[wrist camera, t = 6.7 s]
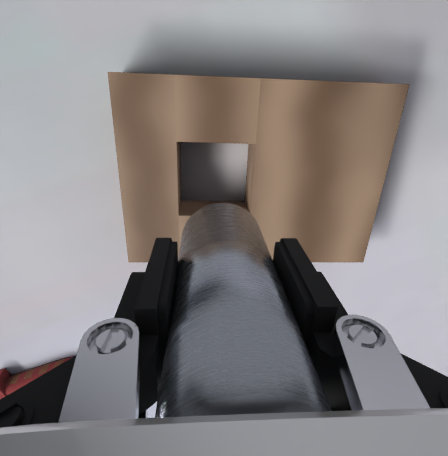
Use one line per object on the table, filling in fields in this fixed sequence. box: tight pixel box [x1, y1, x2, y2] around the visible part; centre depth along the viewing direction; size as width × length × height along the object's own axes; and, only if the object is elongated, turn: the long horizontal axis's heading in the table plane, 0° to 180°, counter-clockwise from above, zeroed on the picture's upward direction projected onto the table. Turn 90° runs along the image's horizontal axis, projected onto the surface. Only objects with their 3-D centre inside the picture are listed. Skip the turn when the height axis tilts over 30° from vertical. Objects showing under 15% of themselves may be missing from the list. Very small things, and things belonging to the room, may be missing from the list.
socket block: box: [108, 72, 410, 262], centre depth 25 cm, size 20×14×4 cm
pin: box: [155, 203, 332, 418], centre depth 10 cm, size 4×4×9 cm
